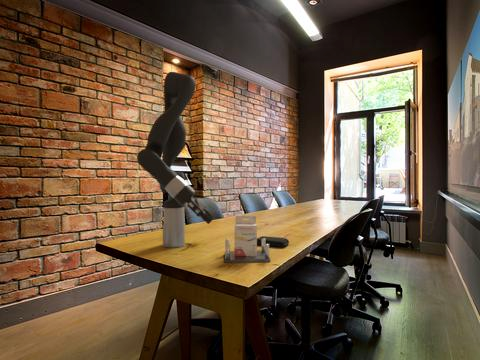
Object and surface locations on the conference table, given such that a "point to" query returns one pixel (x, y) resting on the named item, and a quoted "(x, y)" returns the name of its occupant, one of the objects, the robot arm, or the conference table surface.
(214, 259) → the conference table surface
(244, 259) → the standoff plate
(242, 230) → the ink cartridge box
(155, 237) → the conference table surface
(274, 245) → the carrying case or bag
